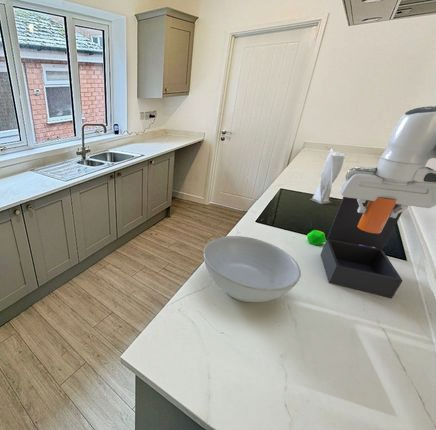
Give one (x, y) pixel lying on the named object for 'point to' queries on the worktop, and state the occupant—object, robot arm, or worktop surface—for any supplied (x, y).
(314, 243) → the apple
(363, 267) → the black box
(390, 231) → the box lid
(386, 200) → the cup
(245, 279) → the decorative bowl
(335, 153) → the skyscraper
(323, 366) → the worktop surface
